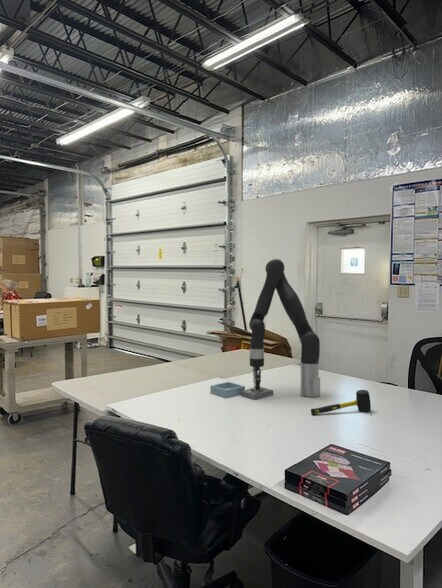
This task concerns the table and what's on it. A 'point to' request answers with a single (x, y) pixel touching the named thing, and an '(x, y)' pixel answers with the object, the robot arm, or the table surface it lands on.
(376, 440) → the table surface
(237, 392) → the parts tray
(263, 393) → the fuse block
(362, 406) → the mallet
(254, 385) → the cylinder
